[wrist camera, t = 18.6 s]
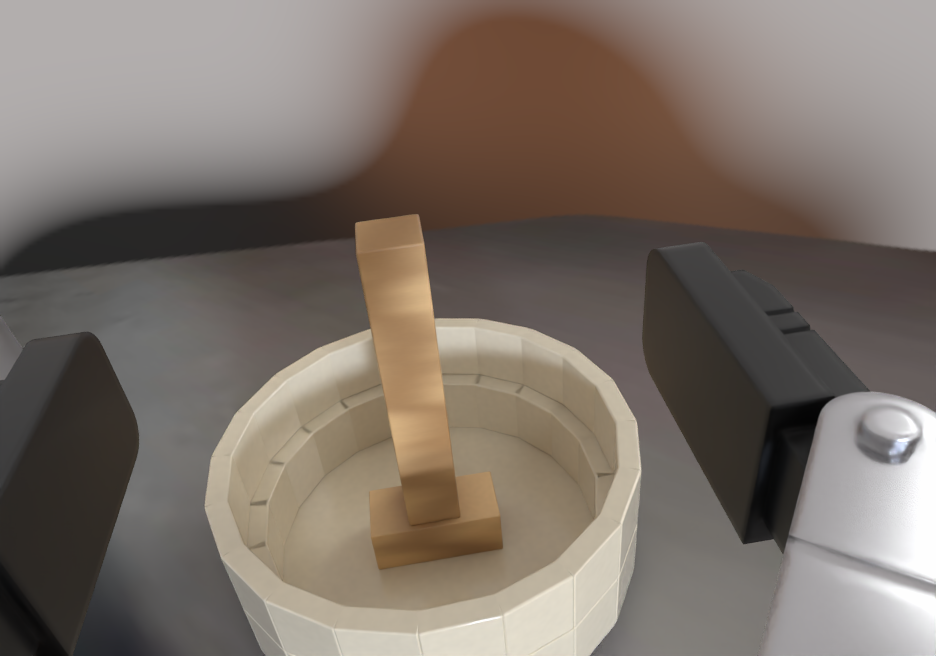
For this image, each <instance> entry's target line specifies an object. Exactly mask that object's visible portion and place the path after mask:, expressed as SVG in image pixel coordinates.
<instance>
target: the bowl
mask: <svg viewBox="0 0 936 656" xmlns="http://www.w3.org/2000/svg"><path fill="white" fill-rule="evenodd" d="M434 320H435V327H436V335H437V342H438V349H439V357H440V364H441V372H442V379H443V387H444V394H445V402H446V409H447V417H448V424H449V431H450V439H451V446H452V454H453V461H454V469H455V476H456V477H457V476H464V475H470V474H476V473H482V472H488V471H490V472H491V476H492V480H493V485H494V489H495V494H496V498H497V503H498V507H499V512H500V517H501V528H502V539H503V549H498V550H492V551H486V552H480V553H475V554H469V555H463V556H457V557H451V558H445V559H439V560H433V561H427V562H422V563H416V564H410V565H404V566H398V567H392V568H386V569H378V565H377V561H376V557H375V553H374V549H373V545H372V541H371V532H370V505H369V491H371V490H378V489H384V488H390V487H396V486H401V480H400V475H399V470H398V465H397V460H396V455H395V450H394V445H393V440H392V435H391V430H390V425H389V420H388V414H387V409H386V404H385V399H384V394H383V389H382V384H381V379H380V374H379V369H378V364H377V359H376V354H375V349H374V343H373V338H372V333H371V329H368V330H365V331H362V332H360V333H357V334H354V335H351V336H349V337H346V338H343V339H341V340H338V341H335V342H333V343H330V344H327V345H324V346H322V347H319V348H317V349H316V350H314V351H312V352H311V353H309V354H308V355H306V356H304V357H303V358H301V359H299V360H298V361H296V362H294V363H293V364H291V365H289V366H288V367H286V368H285V369H283V370H281V371H280V372H278V373H276V374H275V376H273V377H272V378H271V379H270V380H269V381H268V382H267V383H266V384H265V385H264V386H263V387H262V388H261V389H260V390H259V391H258V392H256V393H255V394H254V395H253V396H252V397H251V398H250V399H249V400H248V401H247V402H246V403H245V404H244V405H243V406H242V407H241V408H240V409H239V410H238V412H236V413H235V415H234V417H233V418H232V420H231V422H230V424H229V426H228V427H227V429H226V431H225V433H224V434H223V436H222V438H221V440H220V442H219V443H218V445H217V447H216V449H215V451H214V452H213V454H212V457H211V461H210V468H209V475H208V483H207V490H206V497H205V505H204V507H205V512H206V515H207V518H208V521H209V524H210V527H211V530H212V533H213V536H214V539H215V542H216V545H217V548H218V551H219V554H220V557H221V560H222V562H223V564H224V566H225V569H226V571H227V573H228V576H229V578H230V580H231V582H232V585H233V587H234V589H235V591H236V594H237V596H238V598H239V601H240V603H241V605H242V607H243V610H244V612H245V614H246V616H247V619H248V621H249V623H250V626H251V628H252V630H253V632H254V635H255V637H256V639H257V641H258V644H259V646H260V648H261V650H262V652H263V653H264V654H265V655H266V656H590V654H591V653H592V652H593V651H594V650H595V648H596V647H597V646H598V645H599V643H600V642H601V641H602V640H603V639H604V637H605V636H606V635H607V634H608V632H609V631H610V630H611V629H612V627H613V626H614V625H615V622H616V621H617V620H618V616H619V613H620V610H621V607H622V604H623V601H624V598H625V595H626V592H627V589H628V586H629V583H630V580H631V577H632V574H633V571H634V564H635V551H636V537H637V524H638V511H639V497H640V484H641V470H642V469H641V458H640V447H639V436H638V426H637V422H636V419H635V417H634V416H633V414H632V412H631V410H630V409H629V407H628V405H627V403H626V401H625V400H624V398H623V396H622V394H621V393H620V391H619V389H618V387H617V386H616V384H615V382H614V381H613V380H612V378H611V377H610V376H608V375H607V374H606V373H605V372H604V371H602V370H601V369H600V368H599V367H598V366H596V365H595V364H594V363H593V362H592V361H590V360H589V359H588V358H587V357H586V356H584V355H583V354H582V353H581V352H580V351H578V350H577V349H575V348H574V347H572V346H569V345H567V344H565V343H562V342H560V341H558V340H556V339H553V338H551V337H549V336H547V335H544V334H542V333H540V332H538V331H535V330H533V329H529V328H526V327H521V326H516V325H511V324H506V323H501V322H496V321H490V320H485V319H477V318H434Z"/></svg>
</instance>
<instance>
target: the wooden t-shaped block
mask: <svg viewBox="0 0 936 656" xmlns="http://www.w3.org/2000/svg"><path fill="white" fill-rule="evenodd" d="M355 243H356V257H357V262H358V267H359V272H360V278H361V283H362V288H363V293H364V298H365V303H366V308H367V313H368V318H369V323H370V328H371V333H372V338H373V343H374V349H375V354H376V359H377V364H378V369H379V374H380V379H381V384H382V389H383V394H384V399H385V404H386V409H387V414H388V420H389V425H390V430H391V435H392V440H393V445H394V450H395V455H396V460H397V465H398V470H399V475H400V480H401V486H396V487H390V488H384V489H378V490H371V491H369V505H370V532H371V541H372V545H373V549H374V553H375V557H376V561H377V565H378V569H386V568H392V567H398V566H404V565H410V564H416V563H422V562H427V561H433V560H439V559H445V558H451V557H457V556H463V555H469V554H475V553H480V552H486V551H492V550H498V549H503V539H502V528H501V517H500V512H499V507H498V503H497V498H496V494H495V489H494V485H493V480H492V476H491V472H490V471H488V472H482V473H476V474H470V475H464V476H457V477H456V476H455V469H454V461H453V454H452V446H451V439H450V431H449V424H448V417H447V409H446V402H445V394H444V387H443V379H442V372H441V364H440V357H439V349H438V342H437V335H436V327H435V320H434V312H433V305H432V297H431V290H430V282H429V275H428V267H427V260H426V253H425V245H424V240H423V234H422V229H421V224H420V219H419V215H418V214H413V215H406V216H399V217H392V218H385V219H377V220H370V221H363V222H357V223H356V224H355Z"/></svg>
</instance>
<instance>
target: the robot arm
mask: <svg viewBox="0 0 936 656" xmlns="http://www.w3.org/2000/svg"><path fill="white" fill-rule="evenodd" d="M642 340H643V351H644V356H645V361H646V364H647V368H648V370H649V373H650V375H651V377H652V379H653V381H654V383H655V384H656V386H657V388H658V390H659V392H660V394H661V395H662V397H663V399H664V401H665V403H666V405H667V406H668V408H669V410H670V412H671V414H672V415H673V417H674V419H675V421H676V423H677V425H678V426H679V428H680V430H681V432H682V434H683V436H684V437H685V439H686V441H687V443H688V445H689V447H690V448H691V450H692V452H693V454H694V456H695V457H696V459H697V461H698V463H699V465H700V467H701V468H702V470H703V472H704V474H705V476H706V478H707V479H708V481H709V483H710V485H711V487H712V488H713V490H714V492H715V494H716V496H717V498H718V499H719V501H720V503H721V505H722V507H723V509H724V510H725V512H726V514H727V516H728V518H729V520H730V521H731V523H732V525H733V527H734V529H735V530H736V532H737V534H738V536H739V538H740V540H741V541H742V543H743V544H748V543H754V542H759V541H765V540H771V539H774V540H775V541H776V543H777V545H778V547H779V548H780V550H781V552H782V553H783V558H782V562H781V566H780V570H779V574H778V578H777V582H776V585H775V589H774V593H773V597H772V601H771V605H770V609H769V613H768V617H767V620H766V624H765V628H764V632H763V636H762V640H761V644H760V648H759V652H758V655H757V656H936V413H935V412H933V411H932V410H930V409H929V408H927V407H925V406H923V405H921V404H919V403H917V402H914V401H911V400H909V399H906V398H903V397H899V396H896V395H891V394H886V393H879V392H870V391H869V389H868V388H867V387H866V386H865V385H864V384H863V383H862V382H861V381H860V380H859V379H858V377H857V376H856V375H855V374H854V373H853V372H852V371H851V370H850V369H849V368H848V367H847V365H846V364H845V363H844V362H843V361H842V360H841V359H840V358H839V357H838V356H837V355H836V353H835V352H834V351H833V350H832V349H831V348H830V347H829V346H828V345H827V344H826V342H825V341H824V340H823V339H822V338H821V337H820V336H819V335H818V334H817V333H816V332H815V330H810V325H809V324H808V323H807V322H806V321H805V320H804V318H803V317H802V316H801V315H800V314H799V313H798V312H794V309H793V306H792V305H791V304H790V303H789V302H788V301H787V300H786V299H785V298H784V297H783V295H782V294H781V293H780V292H779V291H778V290H777V289H776V288H775V287H774V286H773V285H771V284H769V283H767V282H765V281H763V280H762V279H760V278H758V277H756V276H754V275H752V274H750V273H749V272H747V271H745V270H737V271H731V272H730V271H729V270H728V268H727V267H726V266H725V265H724V264H723V263H722V261H721V260H720V259H719V258H718V257H717V255H716V254H715V253H714V252H713V251H712V250H711V248H710V247H709V246H708V245H707V244H706V243H704V242H698V243H692V244H685V245H678V246H671V247H665V248H658V249H653V250H652V251H651V252H650V253H649V256H648V260H647V269H646V285H645V301H644V317H643V333H642ZM138 449H139V433H138V426H137V421H136V418H135V415H134V412H133V410H132V408H131V406H130V404H129V401H128V399H127V397H126V395H125V393H124V391H123V389H122V387H121V385H120V382H119V380H118V378H117V376H116V374H115V372H114V370H113V368H112V366H111V363H110V361H109V359H108V357H107V355H106V353H105V351H104V349H103V346H102V345H101V343H100V341H99V340H98V338H97V337H96V336H95V335H94V334H92V333H90V332H81V333H74V334H68V335H61V336H54V337H47V338H41V339H34V340H31V341H29V342H28V343H27V344H26V346H25V347H24V349H23V350H22V352H21V354H20V355H19V357H18V359H17V360H16V362H15V363H14V365H13V367H12V368H11V370H10V372H9V373H8V375H7V377H6V378H5V380H0V656H72V655H73V652H74V649H75V646H76V643H77V640H78V637H79V634H80V631H81V628H82V625H83V621H84V618H85V615H86V612H87V609H88V606H89V603H90V600H91V597H92V594H93V591H94V588H95V584H96V581H97V578H98V575H99V572H100V569H101V566H102V563H103V560H104V557H105V554H106V551H107V547H108V544H109V541H110V538H111V535H112V532H113V529H114V526H115V523H116V520H117V517H118V514H119V510H120V507H121V504H122V501H123V498H124V495H125V492H126V489H127V486H128V483H129V480H130V477H131V473H132V470H133V467H134V464H135V461H136V458H137V454H138Z"/></svg>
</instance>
